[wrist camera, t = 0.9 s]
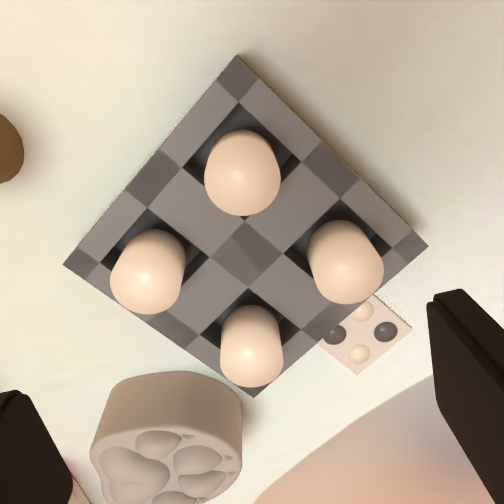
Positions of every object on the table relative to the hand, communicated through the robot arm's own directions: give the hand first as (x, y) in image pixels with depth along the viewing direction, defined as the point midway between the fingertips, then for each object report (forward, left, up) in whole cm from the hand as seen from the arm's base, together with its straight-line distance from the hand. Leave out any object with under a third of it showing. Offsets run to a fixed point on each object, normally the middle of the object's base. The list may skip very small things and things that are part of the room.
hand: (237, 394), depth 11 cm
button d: (+10, +11, -24) cm, 28 cm away
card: (+5, +20, -28) cm, 35 cm away
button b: (0, +11, -24) cm, 26 cm away
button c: (+10, +1, -24) cm, 26 cm away
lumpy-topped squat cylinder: (+24, +14, -28) cm, 39 cm away
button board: (+5, +6, -28) cm, 29 cm away
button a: (0, +1, -24) cm, 24 cm away
